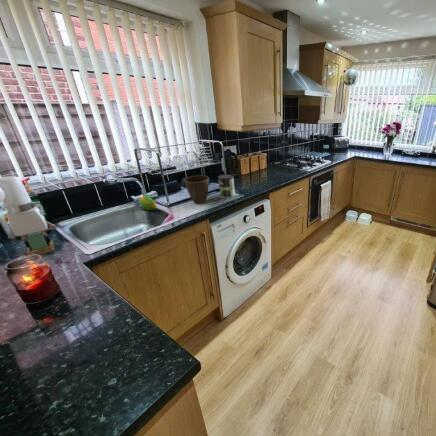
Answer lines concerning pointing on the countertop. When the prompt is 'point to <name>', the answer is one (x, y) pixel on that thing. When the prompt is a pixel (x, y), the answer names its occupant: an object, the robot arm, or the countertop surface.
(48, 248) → the base pad
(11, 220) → the robot arm
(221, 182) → the coffee can
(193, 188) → the flower pot
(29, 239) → the green pad
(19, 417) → the countertop surface
